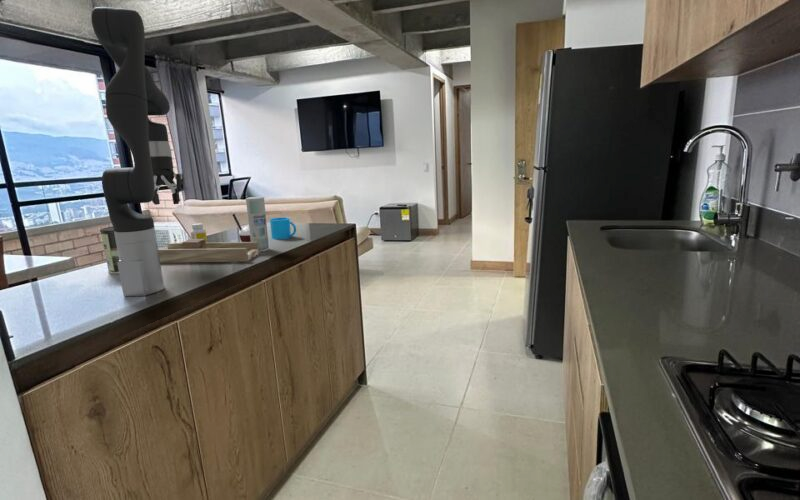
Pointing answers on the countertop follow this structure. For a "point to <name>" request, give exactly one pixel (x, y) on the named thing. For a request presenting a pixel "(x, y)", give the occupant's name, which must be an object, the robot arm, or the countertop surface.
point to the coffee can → (110, 249)
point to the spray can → (257, 222)
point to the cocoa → (243, 232)
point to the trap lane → (210, 252)
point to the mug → (281, 228)
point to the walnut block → (194, 244)
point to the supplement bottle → (198, 232)
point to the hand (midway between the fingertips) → (166, 204)
